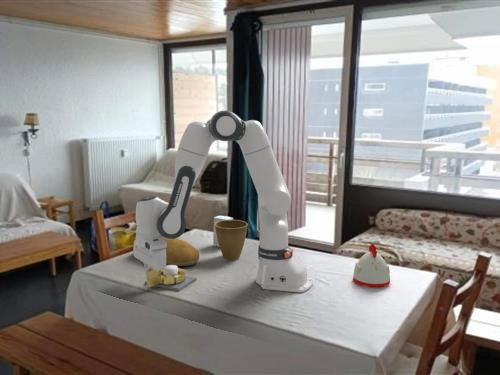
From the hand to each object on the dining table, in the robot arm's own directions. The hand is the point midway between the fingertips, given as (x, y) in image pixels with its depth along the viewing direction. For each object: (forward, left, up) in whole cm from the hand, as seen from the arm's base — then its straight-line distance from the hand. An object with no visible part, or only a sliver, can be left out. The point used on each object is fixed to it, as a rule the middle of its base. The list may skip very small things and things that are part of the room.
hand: (149, 274), depth 160 cm
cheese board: (-4, -5, -4) cm, 7 cm away
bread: (+13, -30, -6) cm, 33 cm away
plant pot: (-13, -43, -5) cm, 45 cm away
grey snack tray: (-5, -7, -5) cm, 10 cm away
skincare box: (-1, -57, -5) cm, 58 cm away
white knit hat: (-76, -41, -5) cm, 86 cm away
